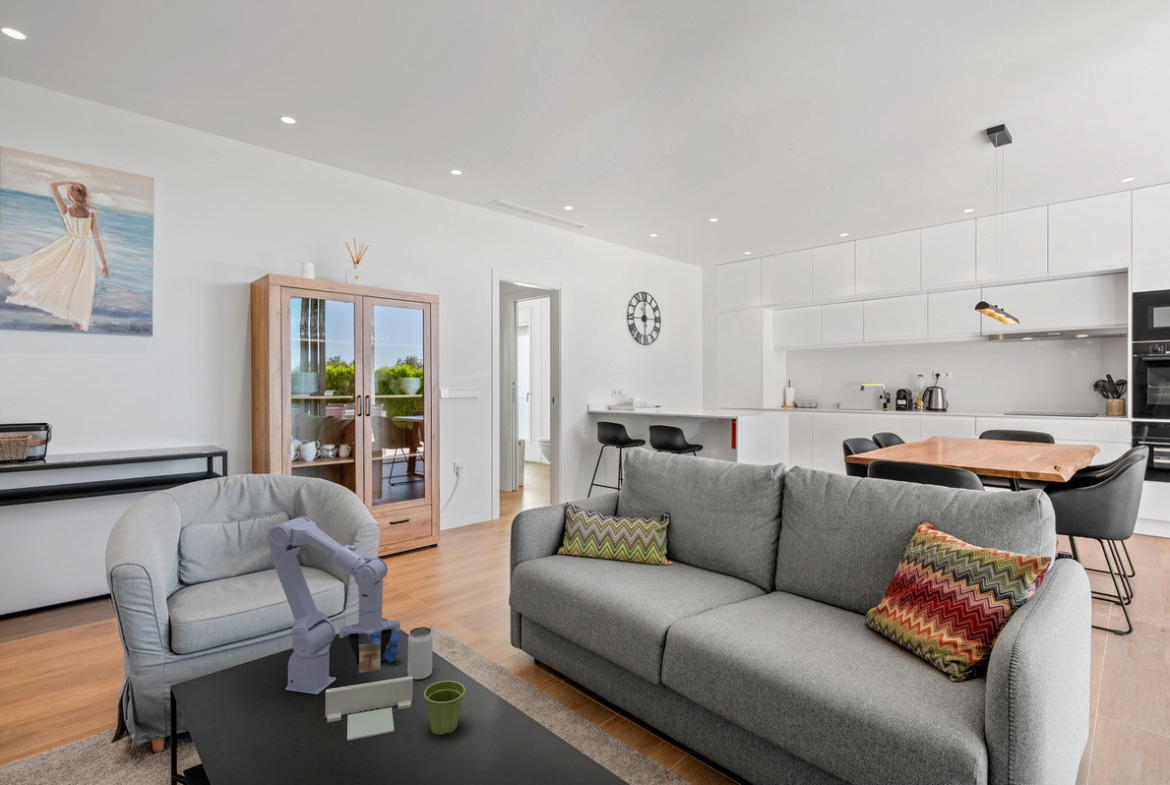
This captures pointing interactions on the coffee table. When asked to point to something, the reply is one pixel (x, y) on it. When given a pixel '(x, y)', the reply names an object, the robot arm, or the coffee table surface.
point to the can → (420, 653)
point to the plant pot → (444, 705)
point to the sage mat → (370, 724)
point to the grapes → (392, 646)
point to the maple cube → (369, 657)
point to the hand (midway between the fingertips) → (369, 660)
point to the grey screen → (368, 697)
